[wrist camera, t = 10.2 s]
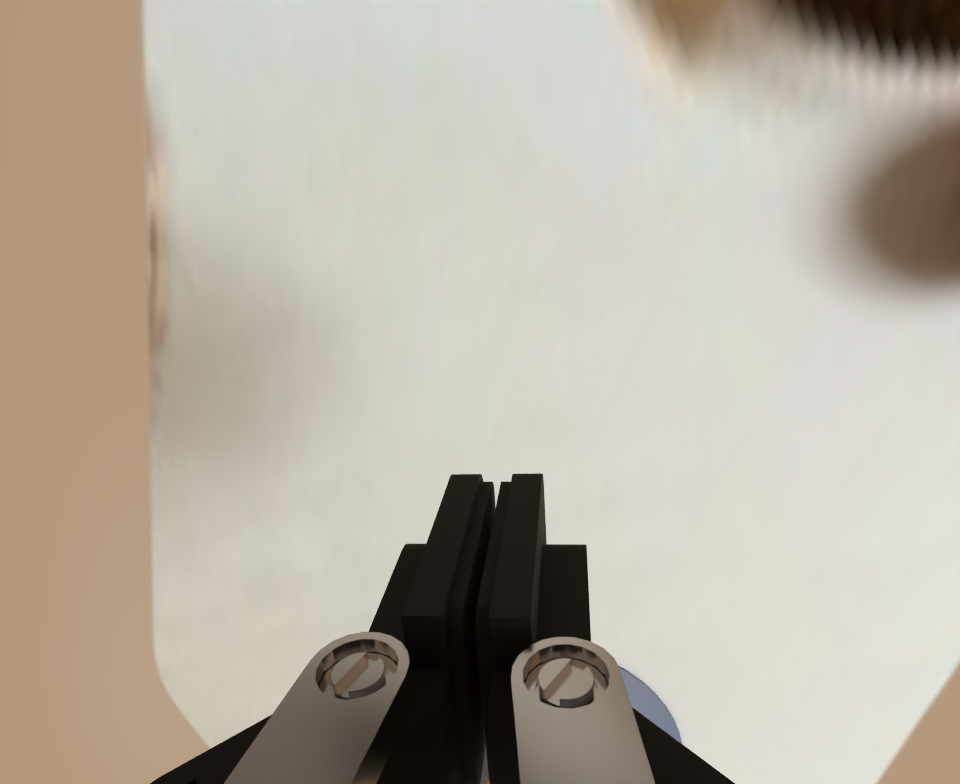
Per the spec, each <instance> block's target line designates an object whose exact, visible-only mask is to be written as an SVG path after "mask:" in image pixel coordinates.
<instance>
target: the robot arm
mask: <svg viewBox="0 0 960 784" xmlns="http://www.w3.org/2000/svg"><path fill="white" fill-rule="evenodd" d="M485 747H486V752H487V763H488V774H489V783H490V784H735V783H733V782H732V781H731V780H729V779H728V778H727V777H725V776H724V775H723V774H721V773H720V772H719V771H717V770H716V769H715V768H713V767H712V766H711V765H709V764H708V763H706V762H705V761H704V760H702V759H701V758H700V757H698V756H697V755H696V754H694V753H693V752H692V751H690V750H689V749H688V748H686V747H685V746H684V745H682V744H681V743H680V742H678V741H677V740H676V739H674V738H673V737H672V736H670V735H669V734H668V733H666V732H665V731H664V730H662V729H661V728H659V727H658V726H657V725H655V724H654V723H653V722H651V721H650V720H649V719H647V718H646V717H645V716H643V715H642V714H641V713H639V712H638V711H637V710H635V709H634V708H633V707H632V706H631V703H630V700H629V696H628V693H627V690H626V687H625V683H624V680H623V677H622V674H621V670H620V668H619V666H618V665H617V663H616V661H615V659H614V658H613V657H612V656H611V655H610V654H609V653H608V652H607V651H606V650H605V649H604V648H602V647H600V646H598V645H596V644H594V643H592V642H591V634H590V613H589V591H588V570H587V549H586V545H546V525H545V504H544V483H543V474H513V475H512V481H511V482H501V485H500V490H499V495H498V500H497V505H496V508H495V495H494V485H493V482H483V478H482V475H481V474H459V475H451V477H450V479H449V482H448V485H447V488H446V490H445V493H444V496H443V499H442V502H441V504H440V507H439V510H438V513H437V516H436V519H435V521H434V524H433V527H432V530H431V533H430V535H429V538H428V541H427V544H406V545H405V546H404V548H403V549H402V552H401V554H400V556H399V559H398V561H397V564H396V566H395V569H394V571H393V574H392V576H391V578H390V581H389V583H388V586H387V588H386V591H385V593H384V595H383V598H382V600H381V603H380V605H379V608H378V610H377V613H376V615H375V617H374V620H373V622H372V625H371V627H370V630H369V632H361V633H356V634H350V635H347V636H344V637H342V638H339V639H337V640H334V641H333V642H331V643H330V644H328V645H327V646H325V647H324V648H322V649H321V650H320V651H319V652H318V653H317V654H316V655H315V656H314V657H313V658H312V659H311V660H310V662H309V663H308V665H307V666H306V667H305V669H304V670H303V672H302V673H301V674H300V676H299V677H298V679H297V680H296V682H295V683H294V684H293V686H292V687H291V689H290V690H289V692H288V693H287V694H286V696H285V697H284V699H283V700H282V701H281V703H280V704H279V706H278V707H277V709H276V710H275V711H274V713H273V714H272V715H271V716H269V717H267V718H265V719H263V720H262V721H260V722H258V723H256V724H254V725H253V726H251V727H249V728H247V729H245V730H244V731H242V732H240V733H238V734H236V735H235V736H233V737H231V738H229V739H227V740H226V741H224V742H222V743H220V744H218V745H217V746H215V747H213V748H211V749H210V750H208V751H206V752H204V753H202V754H201V755H199V756H197V757H195V758H193V759H192V760H190V761H188V762H186V763H184V764H183V765H181V766H179V767H177V768H175V769H174V770H172V771H170V772H168V773H166V774H165V775H163V776H161V777H159V778H158V779H156V780H155V781H153V782H152V783H150V784H480V782H481V776H482V769H483V761H484V754H485Z"/></svg>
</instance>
